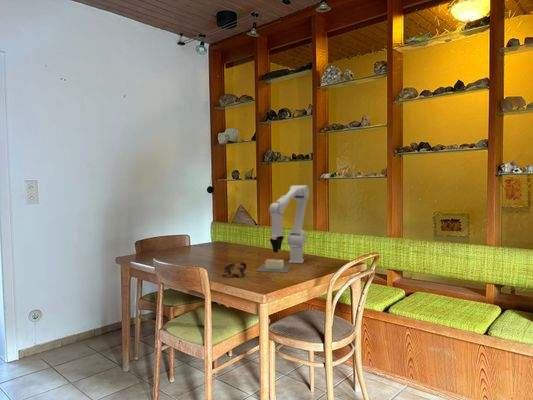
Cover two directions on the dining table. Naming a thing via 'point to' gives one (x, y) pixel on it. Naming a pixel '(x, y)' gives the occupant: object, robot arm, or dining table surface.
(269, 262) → the box
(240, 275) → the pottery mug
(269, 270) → the mat
